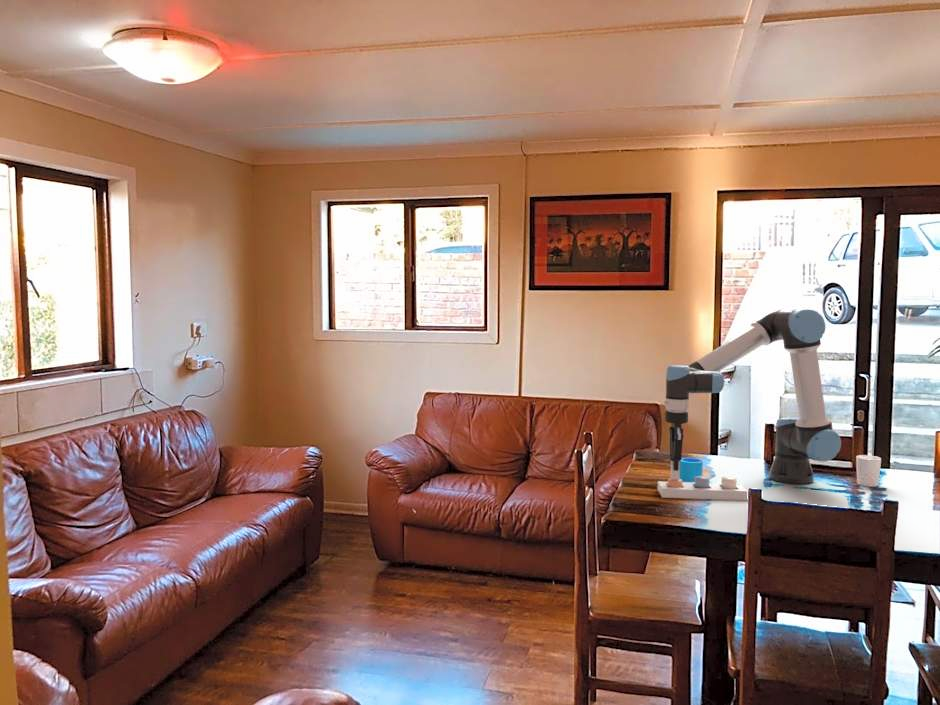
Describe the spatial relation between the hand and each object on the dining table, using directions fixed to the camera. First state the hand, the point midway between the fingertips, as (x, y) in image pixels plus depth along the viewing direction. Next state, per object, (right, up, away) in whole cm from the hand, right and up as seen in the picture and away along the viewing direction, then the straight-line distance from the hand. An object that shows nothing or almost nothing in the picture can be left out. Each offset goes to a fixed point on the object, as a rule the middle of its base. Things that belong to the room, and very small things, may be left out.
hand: (674, 478), depth 251 cm
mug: (+10, -4, +18) cm, 21 cm away
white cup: (+74, -5, +14) cm, 75 cm away
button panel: (+9, -5, 0) cm, 10 cm away
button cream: (+18, -3, -1) cm, 18 cm away
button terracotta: (0, -4, 0) cm, 4 cm away
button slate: (+9, -3, -1) cm, 10 cm away
